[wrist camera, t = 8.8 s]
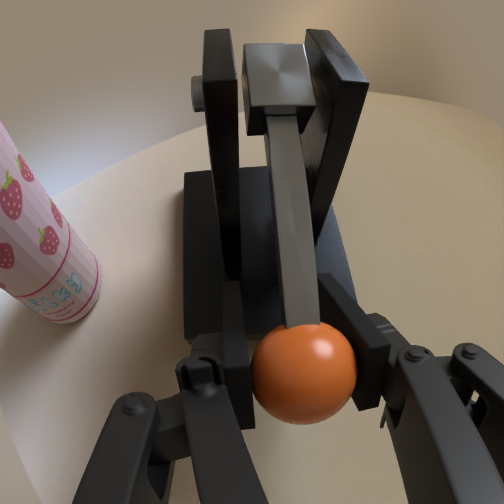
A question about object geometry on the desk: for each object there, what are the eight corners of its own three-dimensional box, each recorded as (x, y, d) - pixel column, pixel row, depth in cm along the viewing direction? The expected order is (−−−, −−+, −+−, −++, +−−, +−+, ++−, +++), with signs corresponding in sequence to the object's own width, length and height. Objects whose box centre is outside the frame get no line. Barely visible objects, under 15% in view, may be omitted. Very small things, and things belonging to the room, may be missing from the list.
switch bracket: (353, 327, 19) (492, 178, 7) (188, 344, 18) (83, 196, 6) (316, 176, 24) (353, 10, 12) (187, 185, 24) (154, 12, 12)
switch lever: (339, 393, 12) (373, 430, 8) (251, 405, 12) (258, 451, 8) (306, 85, 13) (326, 34, 9) (224, 87, 12) (223, 33, 9)
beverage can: (50, 339, 18) (-124, 215, 4) (32, 274, 20) (-94, 135, 7) (116, 300, 19) (-28, 118, 6) (90, 237, 21) (-12, 65, 8)
